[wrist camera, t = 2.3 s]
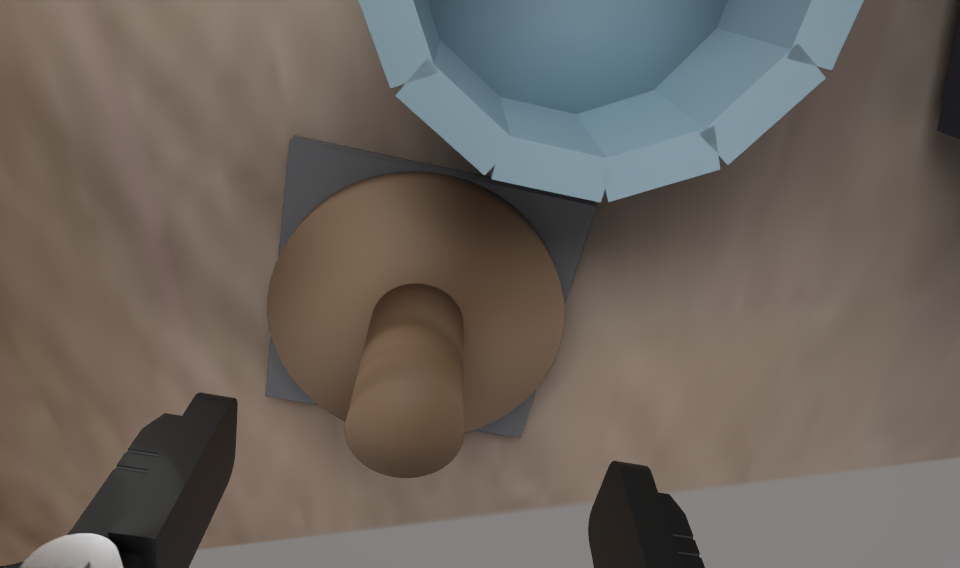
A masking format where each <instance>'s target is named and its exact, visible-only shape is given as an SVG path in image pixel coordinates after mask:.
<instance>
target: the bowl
mask: <svg viewBox="0 0 960 568" xmlns="http://www.w3.org/2000/svg"><path fill="white" fill-rule="evenodd" d="M358 1H359V4H360V6H361V9H362V12H363V15H364V17H365V20H366V23H367V26H368V28H369V31H370V34H371V37H372V39H373V42H374V45H375V48H376V51H377V53H378V56H379V59H380V62H381V64H382V67H383V70H384V73H385V75H386V78H387V81H388V84H389V86H390V88H394V87H397V86H400V87H399V89H398V91H397V93H396V95H395V96H396V97H397V98H398V99H399V100H400V101H401V102H403V103H404V104H405V105H406V106H407V107H408V108H409V109H410V110H412V111H413V112H414V113H415V114H416V115H417V116H418V117H419V118H421V119H422V120H423V121H424V122H425V123H426V124H427V125H428V126H429V127H431V128H432V129H433V130H434V131H435V132H436V133H437V134H438V135H440V136H441V137H442V138H443V139H444V140H445V141H446V142H447V143H448V144H450V145H451V146H452V147H453V148H454V149H455V150H456V151H457V152H459V153H460V154H461V155H462V156H463V157H464V158H465V159H466V160H467V161H469V162H470V163H471V164H472V165H473V166H474V167H475V168H476V169H478V170H479V171H480V172H481V173H482V174H483V175H484V176H485V175H486V174H487V173H488V172H489V170H490V171H491V179H493V180H497V181H502V182H507V183H511V184H516V185H521V186H525V187H530V188H535V189H539V190H544V191H549V192H553V193H558V194H563V195H567V196H572V197H577V198H581V199H586V200H591V201H595V202H600V203H601V200H602V197H603V194H604V196H605V197H606V199H607V201H608V202H611V201H615V200H618V199H621V198H625V197H628V196H632V195H635V194H639V193H642V192H645V191H649V190H652V189H656V188H659V187H662V186H666V185H669V184H673V183H676V182H680V181H683V180H686V179H690V178H693V177H697V176H700V175H704V174H707V173H710V172H714V171H717V170H720V162H719V159H721V160H722V161H723V162H724V163H726V164H727V165H729V164H730V163H731V162H732V161H733V160H735V159H736V158H737V157H738V156H739V155H740V154H741V153H742V152H744V151H745V150H746V149H747V148H748V147H749V146H750V145H751V144H752V143H754V142H755V141H756V140H757V139H758V138H759V137H760V136H761V135H763V134H764V133H765V132H766V131H767V130H768V129H769V128H770V127H772V126H773V125H774V124H775V123H776V122H777V121H778V120H779V119H781V118H782V117H783V116H784V115H785V114H786V113H787V112H788V111H790V110H791V109H792V108H793V107H794V106H795V105H796V104H797V103H798V102H800V101H801V100H802V99H803V98H804V97H805V96H806V95H807V94H809V93H810V92H811V91H812V90H813V89H814V88H815V87H816V86H818V85H819V84H820V83H821V82H822V81H823V80H824V79H825V78H826V77H825V76H824V75H823V74H822V72H821V71H820V70H819V68H818V67H821V68H825V69H829V70H832V69H833V67H834V64H835V62H836V60H837V58H838V56H839V53H840V51H841V49H842V47H843V45H844V43H845V40H846V38H847V36H848V34H849V32H850V30H851V27H852V25H853V23H854V21H855V19H856V16H857V14H858V12H859V10H860V8H861V6H862V3H863V1H864V0H358Z"/></svg>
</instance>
